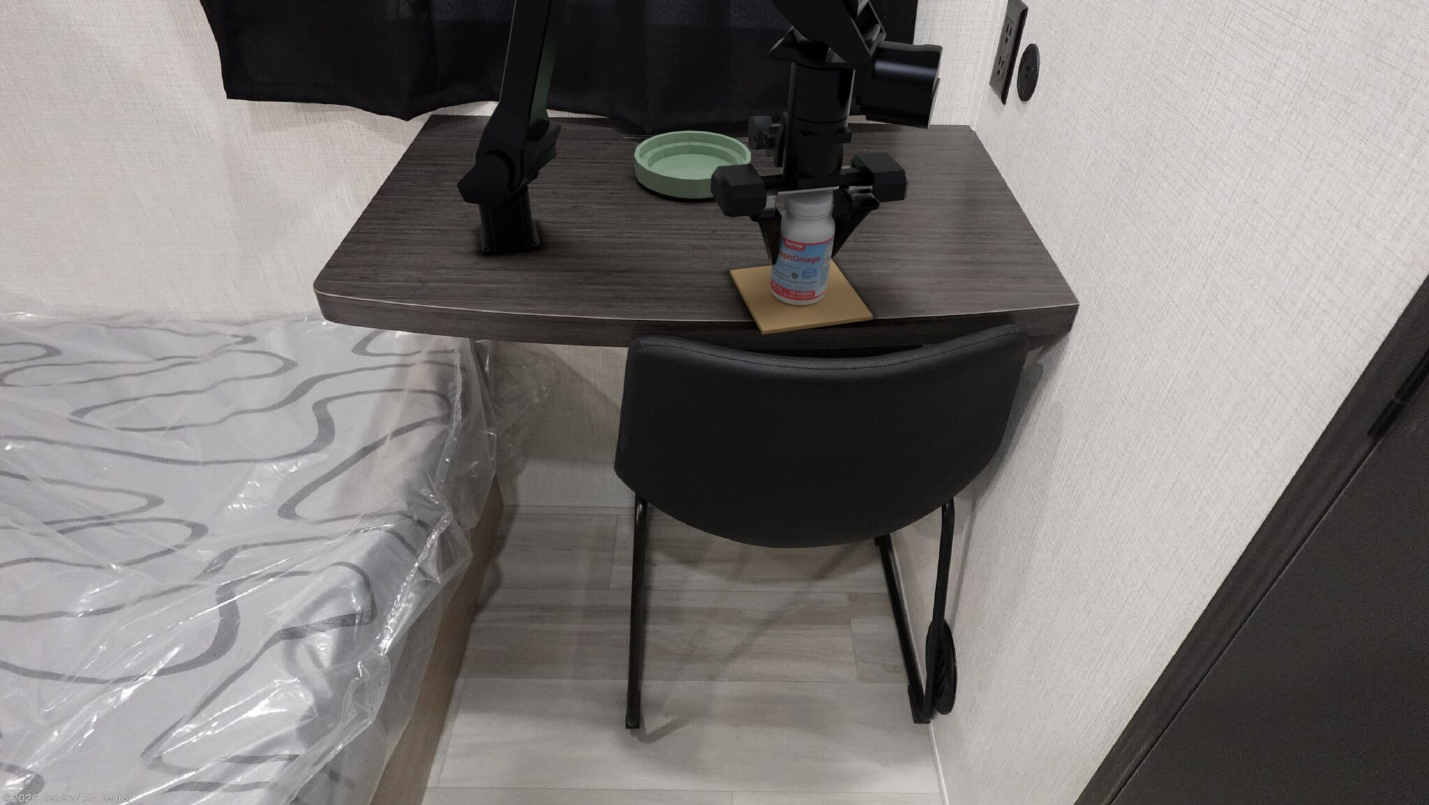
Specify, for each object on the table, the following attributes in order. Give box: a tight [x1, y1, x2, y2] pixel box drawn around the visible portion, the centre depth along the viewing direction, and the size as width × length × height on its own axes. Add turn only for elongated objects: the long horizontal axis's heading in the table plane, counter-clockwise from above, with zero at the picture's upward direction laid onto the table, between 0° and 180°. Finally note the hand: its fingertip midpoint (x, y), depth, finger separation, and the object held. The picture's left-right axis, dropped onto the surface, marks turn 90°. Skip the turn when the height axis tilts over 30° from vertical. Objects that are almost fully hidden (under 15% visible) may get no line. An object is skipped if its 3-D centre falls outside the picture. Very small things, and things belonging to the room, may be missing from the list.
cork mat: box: [729, 258, 874, 335], centre depth 90 cm, size 12×12×1 cm
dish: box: [633, 130, 752, 200], centre depth 111 cm, size 15×15×3 cm
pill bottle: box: [770, 191, 835, 305], centre depth 86 cm, size 6×6×11 cm
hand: (801, 259), depth 87 cm, fingers closed on pill bottle, 6 cm apart
